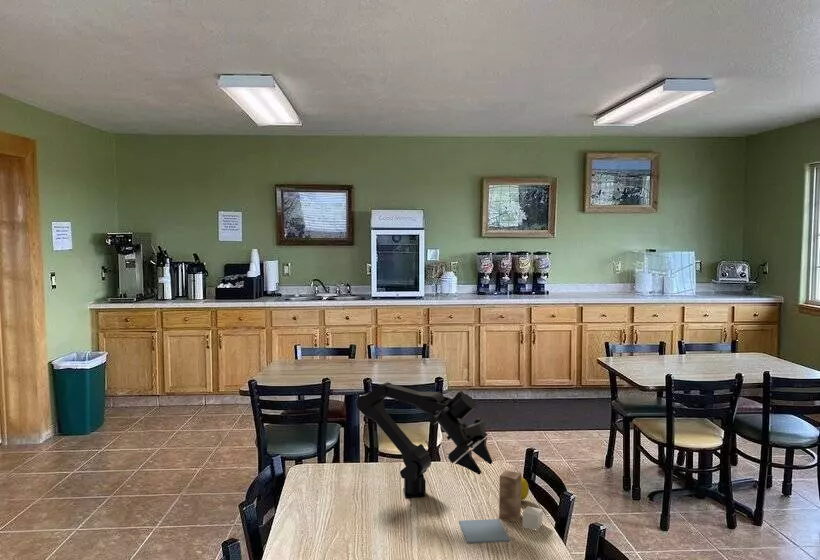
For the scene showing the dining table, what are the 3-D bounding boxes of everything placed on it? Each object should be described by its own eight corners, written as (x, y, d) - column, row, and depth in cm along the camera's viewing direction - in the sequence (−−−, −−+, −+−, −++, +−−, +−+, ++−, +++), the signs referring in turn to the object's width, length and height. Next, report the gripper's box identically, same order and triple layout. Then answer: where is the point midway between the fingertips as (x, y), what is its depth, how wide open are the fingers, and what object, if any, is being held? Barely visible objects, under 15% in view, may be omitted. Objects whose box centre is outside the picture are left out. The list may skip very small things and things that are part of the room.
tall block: (499, 518, 172) (499, 475, 171) (504, 511, 176) (505, 470, 176) (515, 522, 170) (515, 479, 169) (520, 515, 174) (521, 473, 173)
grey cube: (522, 527, 167) (522, 512, 166) (527, 520, 171) (527, 506, 170) (537, 531, 165) (538, 515, 164) (542, 524, 168) (542, 509, 168)
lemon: (528, 505, 180) (528, 480, 180) (510, 504, 181) (510, 479, 181) (528, 498, 186) (528, 474, 185) (511, 496, 187) (511, 472, 186)
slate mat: (467, 543, 157) (467, 541, 157) (458, 522, 169) (458, 520, 169) (509, 541, 159) (509, 539, 159) (498, 520, 171) (498, 518, 171)
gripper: (457, 420, 169) (492, 463, 165) (481, 404, 186) (514, 444, 181) (433, 441, 174) (467, 484, 169) (459, 425, 190) (490, 464, 185)
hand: (486, 468), depth 176 cm, fingers open, 9 cm apart
